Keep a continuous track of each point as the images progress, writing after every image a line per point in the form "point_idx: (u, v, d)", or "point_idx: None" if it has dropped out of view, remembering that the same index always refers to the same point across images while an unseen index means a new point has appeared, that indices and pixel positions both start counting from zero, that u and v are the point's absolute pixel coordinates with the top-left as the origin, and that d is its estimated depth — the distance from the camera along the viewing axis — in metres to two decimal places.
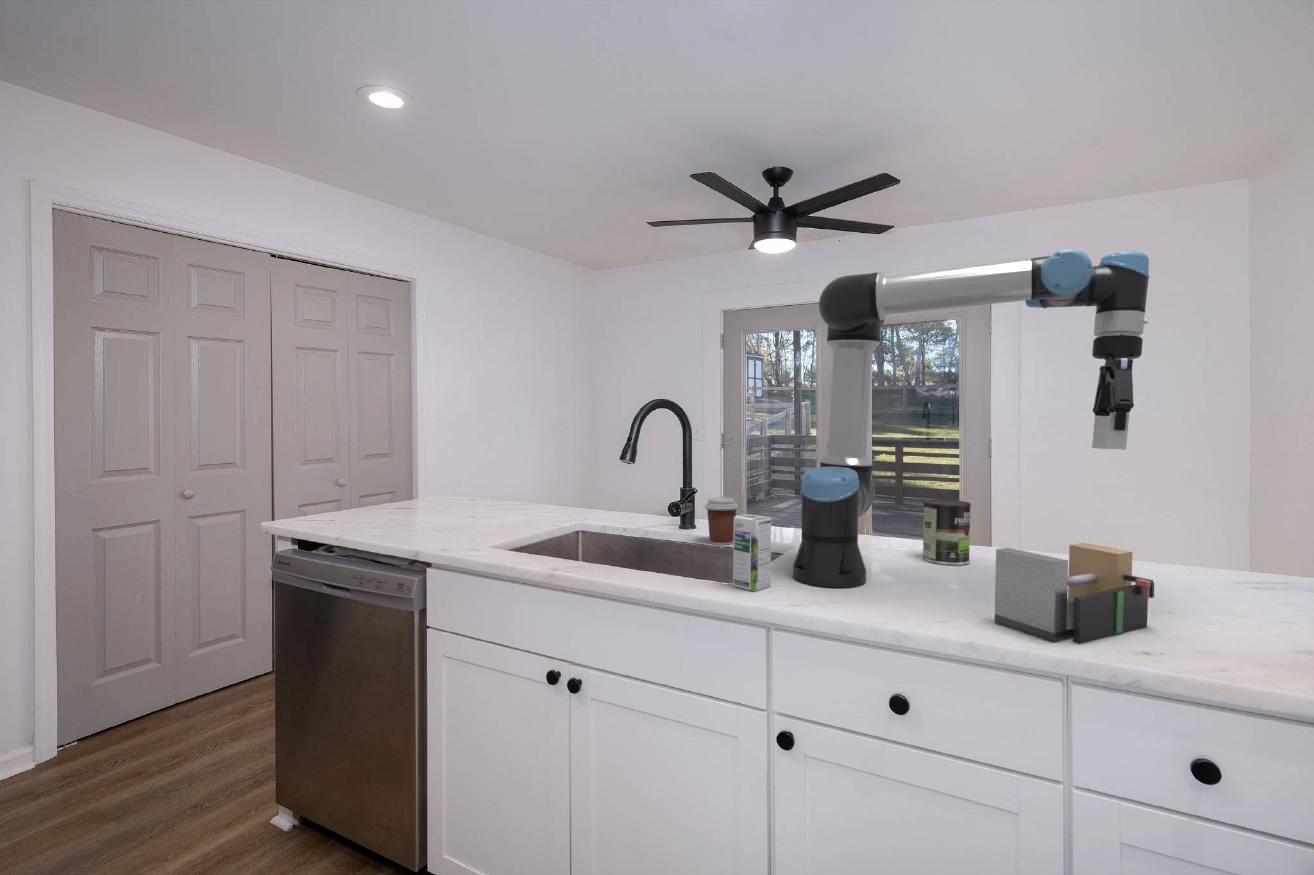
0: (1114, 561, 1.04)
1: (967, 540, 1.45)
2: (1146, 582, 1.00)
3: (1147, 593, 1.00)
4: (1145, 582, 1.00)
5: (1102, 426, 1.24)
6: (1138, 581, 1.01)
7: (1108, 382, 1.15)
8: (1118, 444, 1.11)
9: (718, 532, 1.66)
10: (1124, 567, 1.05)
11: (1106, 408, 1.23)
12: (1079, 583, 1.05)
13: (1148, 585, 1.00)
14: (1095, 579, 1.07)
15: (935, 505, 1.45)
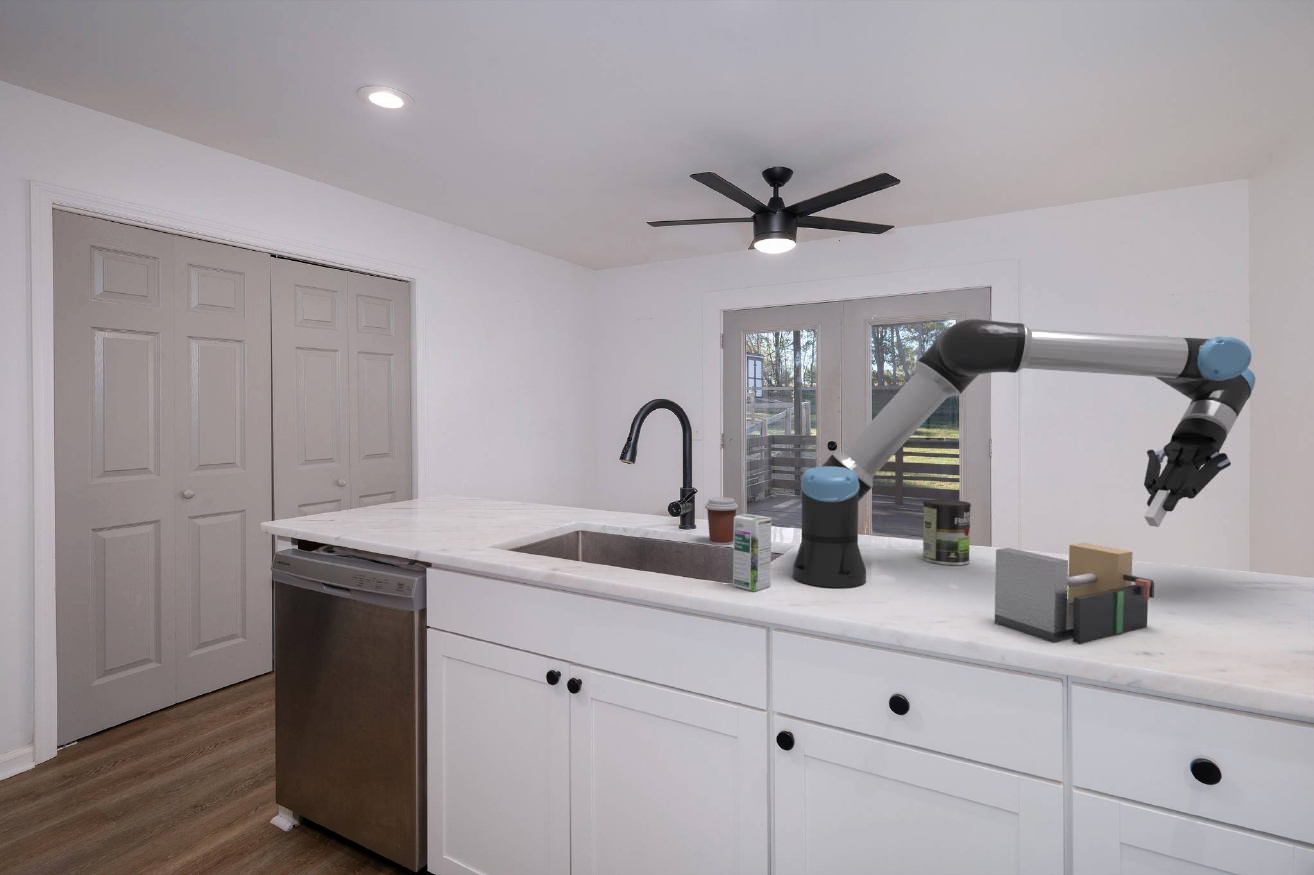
0: (1114, 561, 1.04)
1: (967, 540, 1.45)
2: (1146, 582, 1.00)
3: (1147, 593, 1.00)
4: (1145, 582, 1.00)
5: None
6: (1138, 581, 1.01)
7: (1188, 462, 1.16)
8: (1158, 519, 1.14)
9: (718, 532, 1.66)
10: (1124, 567, 1.05)
11: (1167, 486, 1.17)
12: (1079, 583, 1.05)
13: (1148, 585, 1.00)
14: (1095, 579, 1.07)
15: (935, 505, 1.45)
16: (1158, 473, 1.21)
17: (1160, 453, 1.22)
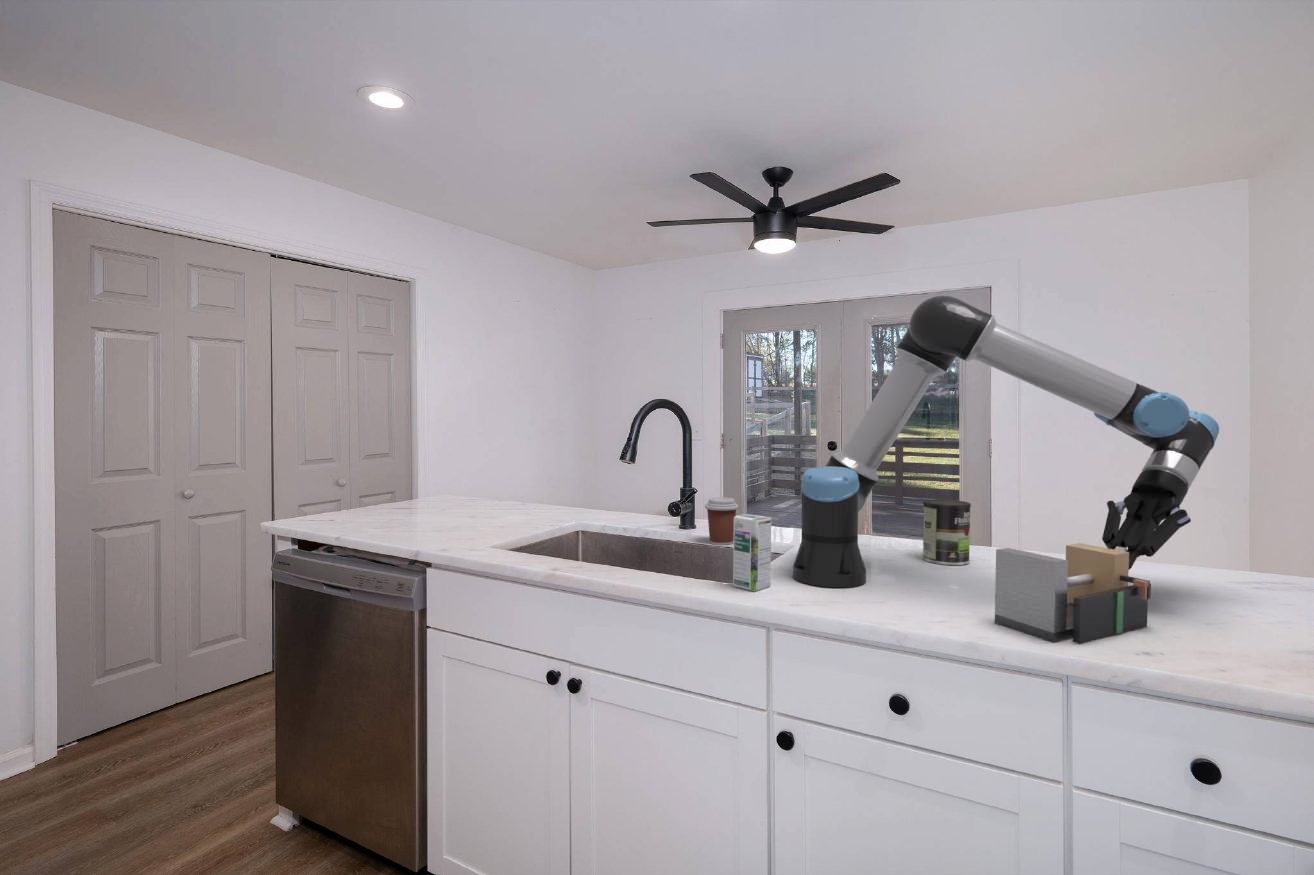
0: (1110, 561, 1.04)
1: (967, 540, 1.45)
2: (1144, 582, 1.00)
3: (1144, 593, 1.00)
4: (1143, 582, 1.00)
5: None
6: (1136, 581, 1.01)
7: (1147, 517, 1.11)
8: None
9: (718, 532, 1.66)
10: (1121, 568, 1.04)
11: (1125, 542, 1.12)
12: (1075, 584, 1.04)
13: (1146, 585, 1.00)
14: (1091, 579, 1.06)
15: (935, 505, 1.45)
16: (1117, 526, 1.16)
17: (1120, 505, 1.17)
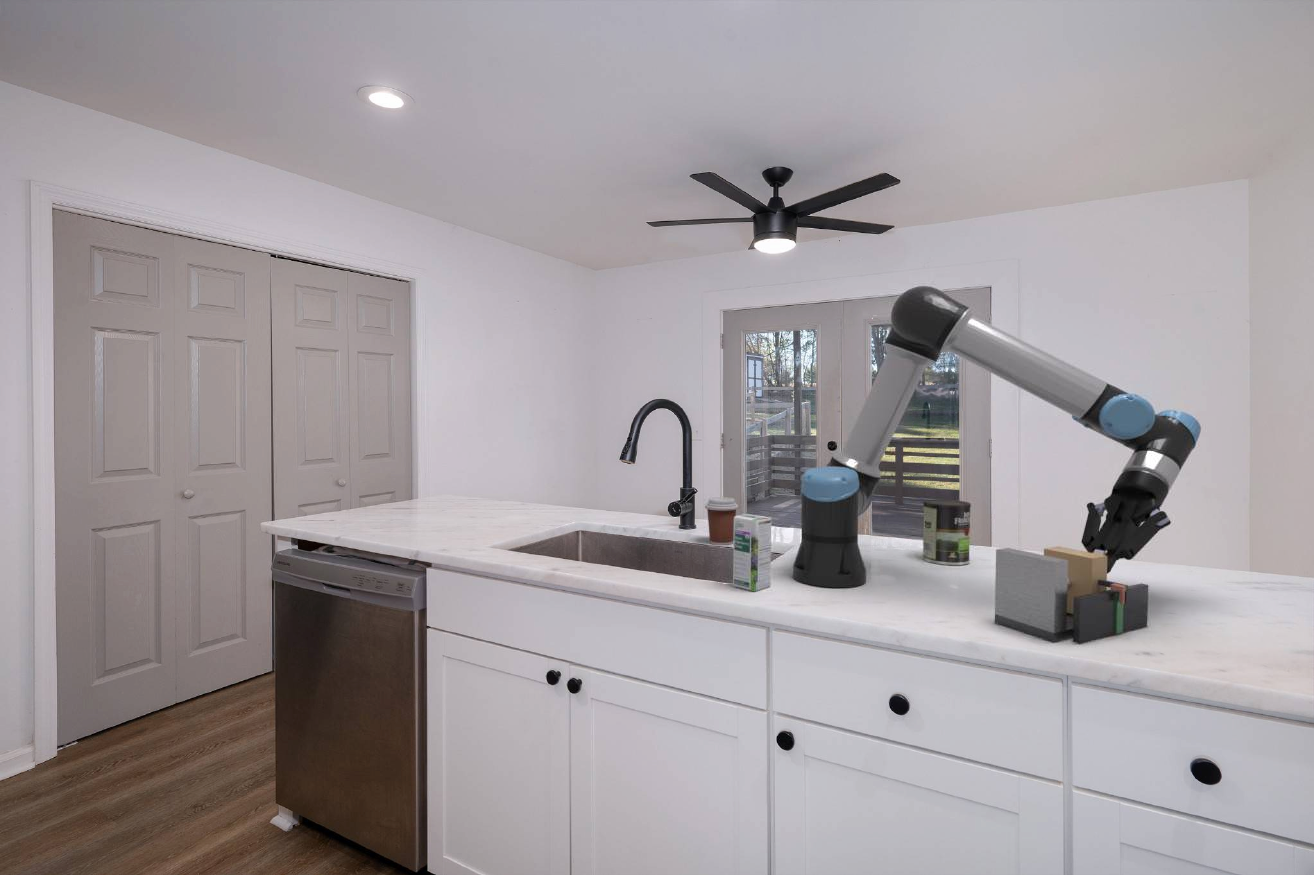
0: (1088, 565, 1.01)
1: (967, 540, 1.45)
2: (1121, 587, 0.98)
3: (1122, 598, 0.98)
4: (1120, 587, 0.98)
5: None
6: (1113, 586, 0.98)
7: (1126, 520, 1.08)
8: None
9: (718, 532, 1.66)
10: (1099, 572, 1.02)
11: (1105, 545, 1.10)
12: None
13: (1123, 590, 0.98)
14: (1069, 584, 1.04)
15: (935, 505, 1.45)
16: (1097, 529, 1.13)
17: (1100, 507, 1.15)
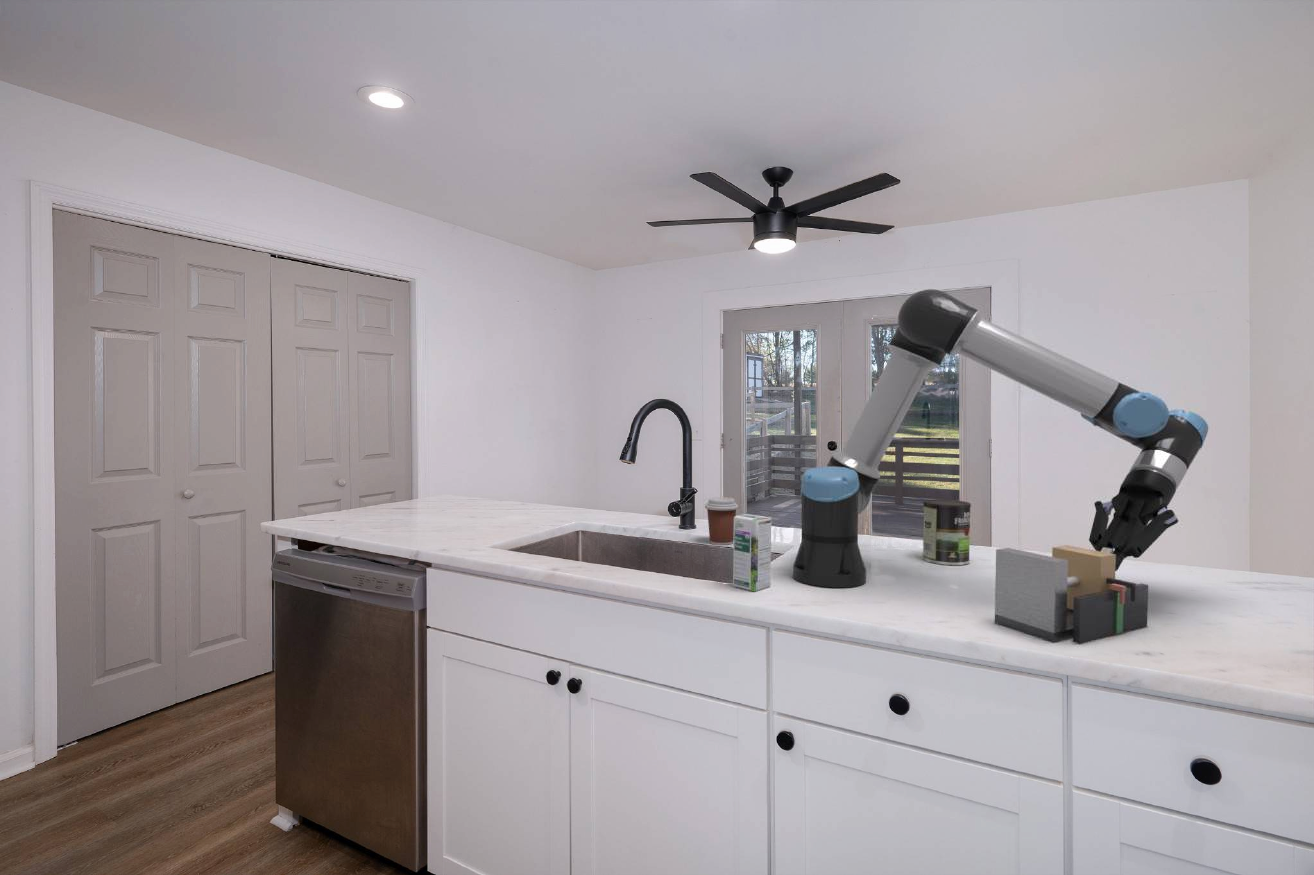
0: (1097, 564, 1.02)
1: (967, 540, 1.45)
2: (1121, 587, 0.98)
3: (1122, 598, 0.98)
4: (1120, 587, 0.98)
5: None
6: (1113, 586, 0.98)
7: (1134, 518, 1.09)
8: None
9: (718, 532, 1.66)
10: (1107, 570, 1.03)
11: (1112, 543, 1.11)
12: None
13: (1123, 590, 0.98)
14: (1078, 582, 1.05)
15: (935, 505, 1.45)
16: (1105, 527, 1.14)
17: (1108, 505, 1.16)
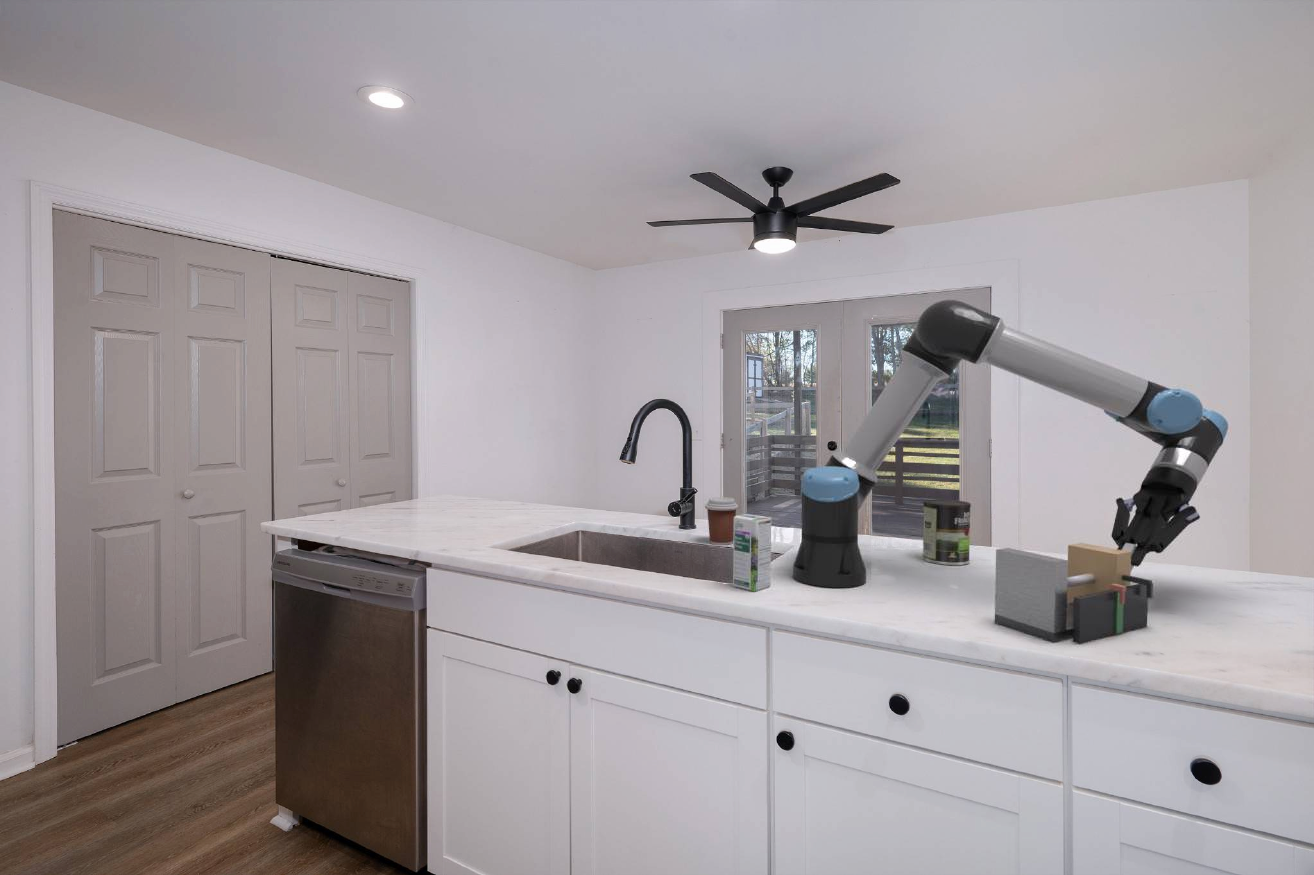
0: (1113, 561, 1.04)
1: (967, 540, 1.45)
2: (1121, 587, 0.98)
3: (1122, 598, 0.98)
4: (1120, 587, 0.98)
5: None
6: (1113, 586, 0.98)
7: (1156, 514, 1.12)
8: None
9: (718, 532, 1.66)
10: (1123, 567, 1.04)
11: (1135, 539, 1.13)
12: (1078, 583, 1.05)
13: (1123, 590, 0.98)
14: (1093, 579, 1.06)
15: (935, 505, 1.45)
16: (1127, 523, 1.17)
17: (1129, 502, 1.18)
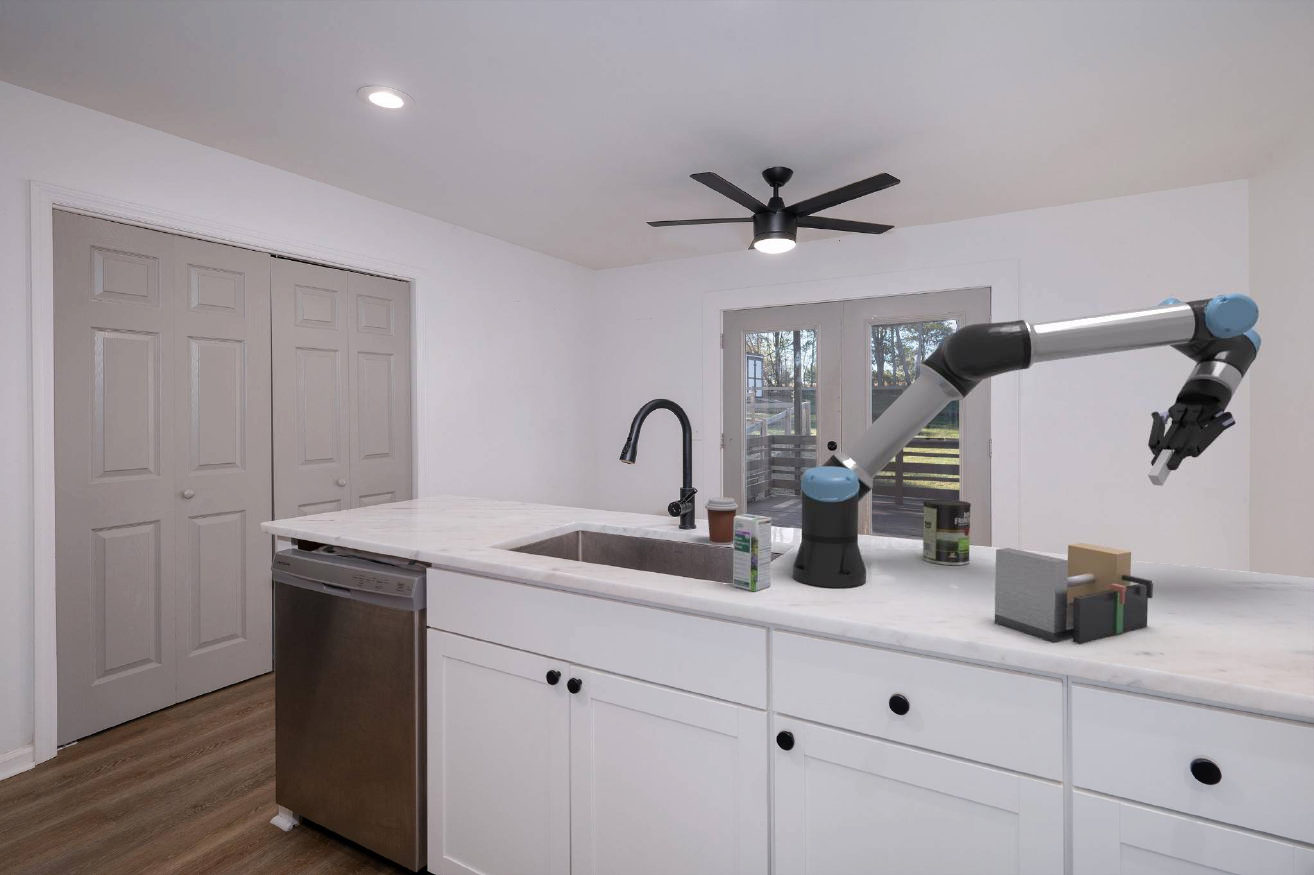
0: (1113, 561, 1.04)
1: (967, 540, 1.45)
2: (1121, 587, 0.98)
3: (1122, 598, 0.98)
4: (1120, 587, 0.98)
5: None
6: (1113, 586, 0.98)
7: (1192, 422, 1.16)
8: (1162, 478, 1.14)
9: (718, 532, 1.66)
10: (1123, 567, 1.04)
11: (1171, 446, 1.17)
12: (1078, 583, 1.05)
13: (1123, 590, 0.98)
14: (1093, 579, 1.06)
15: (935, 505, 1.45)
16: (1162, 434, 1.21)
17: (1165, 415, 1.22)
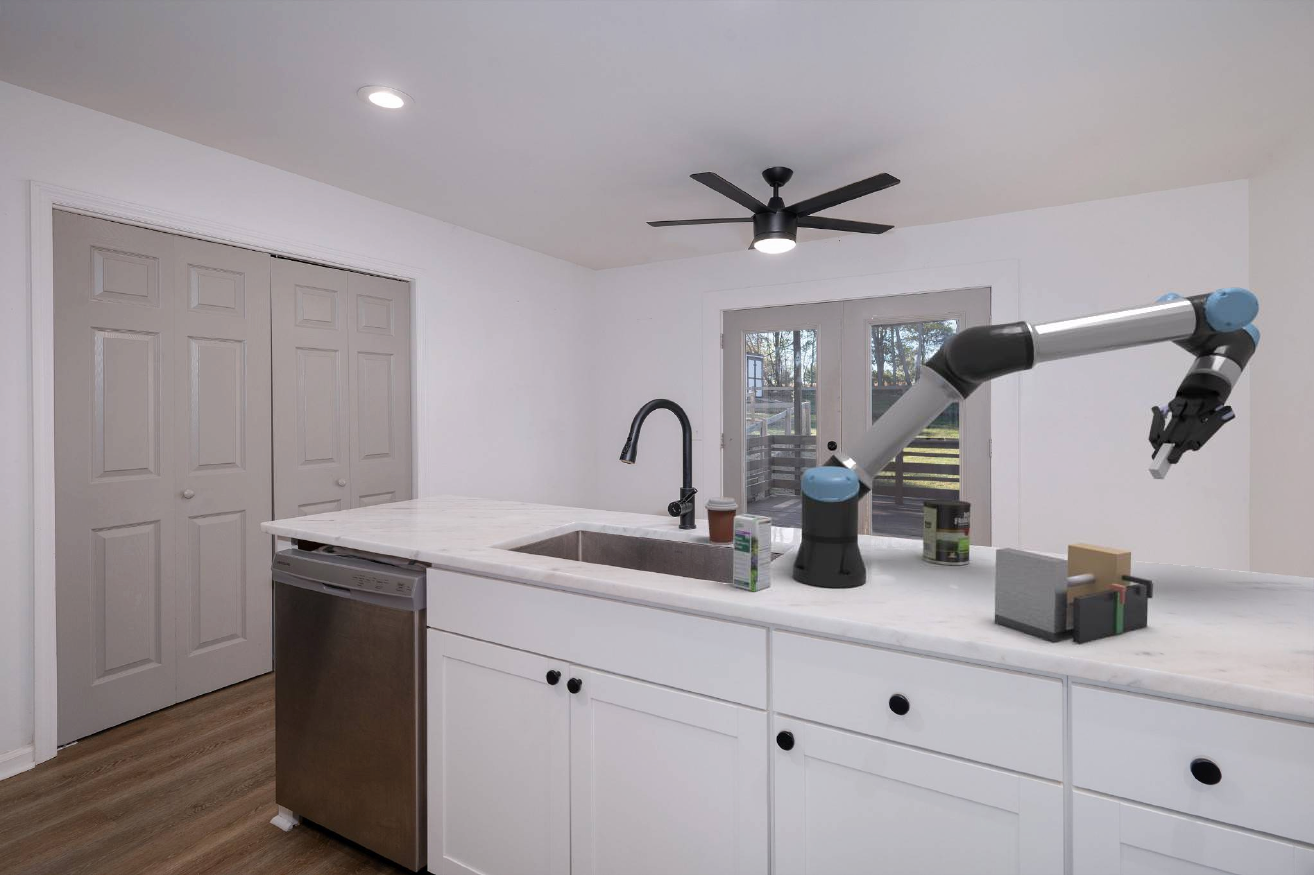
0: (1113, 561, 1.04)
1: (967, 540, 1.45)
2: (1121, 587, 0.98)
3: (1122, 598, 0.98)
4: (1120, 587, 0.98)
5: None
6: (1113, 586, 0.98)
7: (1192, 416, 1.16)
8: (1162, 471, 1.14)
9: (718, 532, 1.66)
10: (1123, 567, 1.04)
11: (1171, 440, 1.18)
12: (1078, 583, 1.05)
13: (1123, 590, 0.98)
14: (1093, 579, 1.06)
15: (935, 505, 1.45)
16: (1162, 428, 1.21)
17: (1165, 409, 1.23)
